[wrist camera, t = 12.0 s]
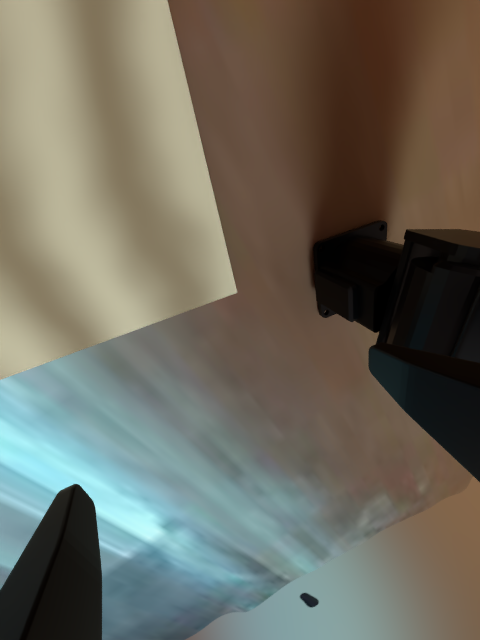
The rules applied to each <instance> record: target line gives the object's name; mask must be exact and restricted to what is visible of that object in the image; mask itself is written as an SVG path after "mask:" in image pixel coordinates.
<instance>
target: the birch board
mask: <svg viewBox="0 0 480 640" xmlns="http://www.w3.org/2000/svg"><path fill="white" fill-rule="evenodd" d="M235 293H237V290H236V286H235V281H234V277H233V273H232V269H231V265H230V260H229V256H228V252H227V248H226V244H225V240H224V235H223V231H222V227H221V223H220V219H219V214H218V210H217V206H216V202H215V198H214V194H213V189H212V185H211V181H210V177H209V173H208V168H207V164H206V160H205V156H204V152H203V147H202V143H201V139H200V135H199V131H198V127H197V122H196V118H195V114H194V110H193V106H192V101H191V97H190V93H189V89H188V85H187V81H186V76H185V72H184V68H183V64H182V60H181V55H180V51H179V47H178V43H177V39H176V35H175V30H174V26H173V22H172V18H171V14H170V9H169V5H168V1H167V0H0V380H1V379H4V378H6V377H9V376H12V375H14V374H17V373H20V372H23V371H25V370H28V369H31V368H33V367H36V366H39V365H42V364H44V363H47V362H50V361H53V360H55V359H58V358H61V357H63V356H66V355H69V354H72V353H74V352H77V351H80V350H82V349H85V348H88V347H91V346H93V345H96V344H99V343H101V342H104V341H107V340H110V339H112V338H115V337H118V336H121V335H123V334H126V333H129V332H131V331H134V330H137V329H140V328H142V327H145V326H148V325H150V324H153V323H156V322H159V321H161V320H164V319H167V318H170V317H172V316H175V315H178V314H180V313H183V312H186V311H189V310H191V309H194V308H197V307H199V306H202V305H205V304H208V303H210V302H213V301H216V300H218V299H221V298H224V297H227V296H229V295H232V294H235Z"/></svg>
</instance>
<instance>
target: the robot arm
mask: <svg viewBox="0 0 480 640" xmlns="http://www.w3.org/2000/svg"><path fill="white" fill-rule="evenodd" d="M380 226H381V227H380ZM379 228H380V229H379ZM386 239H387V223H386V222H385V221H376V222H373V223H370V224H367V225H364V226H362V227H359V228H356V229H353V230H350V231H347V232H344V233H342V234H339V235H336V236H333V237H330V238H327V239H324V240H321V241H319V242H317V243H316V244H315V245H314V249H313V251H314V263H315V274H314V275H315V287H316V298H317V301H318V309H319V315H321V316H322V317H324V318H327V317H329V316H332V315H334V314H339V315H340V316H342V317H343V318H345V319H347V320H348V321H350V322H353V321H356V322H358V323H359V324H361V325H363V326H364V327H366V328H368V329H369V330H371V331H373V332H374V333H377V332H379V335H378V338H377V342H376V345H373V346H371V347H370V348H369V370H370V372H371V373H372V375H373V376H374V377H375V378H376V379H377V380H378V382H379V383H380V384H381V385H382V386H383V387H384V388H385V390H386V391H387V392H388V393H389V394H390V395H391V396H392V398H393V399H394V400H395V401H396V402H397V403H398V404H399V406H400V407H401V408H402V409H403V410H404V411H405V412H406V413H407V414H408V415H409V416H410V417H411V418H412V419H413V420H414V421H416V422H417V423H418V424H419V425H420V426H421V427H422V428H423V429H424V430H425V431H426V432H427V433H428V434H429V435H430V436H431V437H432V438H434V439H435V440H436V441H437V442H438V443H439V444H440V445H441V446H442V447H443V448H444V449H445V450H446V451H447V452H448V453H449V454H451V455H452V456H453V457H454V458H455V459H456V460H457V461H458V462H459V463H460V464H461V465H462V466H463V467H464V468H465V469H466V470H467V471H469V472H470V473H471V474H472V475H473V476H474V477H475V478H476V479H477V480H478V481H479V482H480V232H477V231H469V230H461V229H407V230H406V232H405V236H404V239H405V242H404V245H402V244H398V243H394V242H390V241H386ZM321 246H322V249H321V251H319V249H320V247H321ZM325 310H326V312H325ZM324 312H325V313H324ZM0 640H102V570H101V558H100V549H99V539H98V530H97V520H96V511H95V505H94V503H93V501H92V499H91V498H90V497H89V496H88V494H87V493H86V492H85V491H84V490H83V489H82V487H81V486H80V485H78V484H73V485H71V486H69V487H67V488H65V489H63V490H61V491H60V492H59V493H58V494H57V495H56V497H55V499H54V500H53V502H52V504H51V505H50V507H49V509H48V510H47V512H46V514H45V516H44V517H43V519H42V521H41V522H40V524H39V526H38V527H37V529H36V531H35V532H34V534H33V536H32V538H31V539H30V541H29V543H28V544H27V546H26V548H25V549H24V551H23V553H22V554H21V556H20V558H19V560H18V561H17V563H16V565H15V566H14V568H13V570H12V571H11V573H10V575H9V576H8V578H7V580H6V582H5V583H4V585H3V587H2V588H1V590H0Z"/></svg>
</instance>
